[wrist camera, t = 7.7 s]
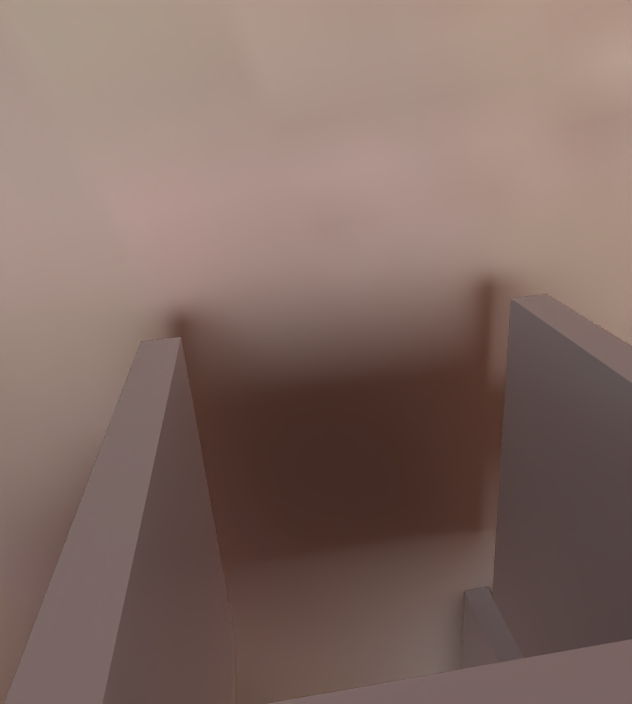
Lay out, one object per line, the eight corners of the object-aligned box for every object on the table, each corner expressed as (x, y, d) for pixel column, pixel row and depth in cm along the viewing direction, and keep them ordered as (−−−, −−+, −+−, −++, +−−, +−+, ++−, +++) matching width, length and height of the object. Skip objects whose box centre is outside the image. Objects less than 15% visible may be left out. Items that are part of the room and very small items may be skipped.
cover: (204, 644, 15) (174, 1275, 7) (140, 341, 12) (-64, 885, 4) (520, 592, 16) (821, 1105, 8) (546, 294, 13) (1133, 651, 4)
